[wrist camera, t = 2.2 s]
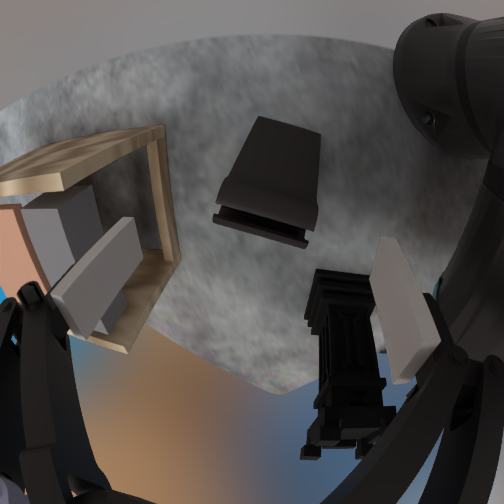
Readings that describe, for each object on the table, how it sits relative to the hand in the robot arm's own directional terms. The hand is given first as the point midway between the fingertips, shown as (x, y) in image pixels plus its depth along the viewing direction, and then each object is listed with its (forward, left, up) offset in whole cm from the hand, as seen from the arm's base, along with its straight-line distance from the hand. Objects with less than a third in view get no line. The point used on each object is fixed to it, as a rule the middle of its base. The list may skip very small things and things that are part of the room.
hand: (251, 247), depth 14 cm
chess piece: (-9, +16, -15) cm, 24 cm away
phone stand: (0, 0, -15) cm, 15 cm away
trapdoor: (+22, +4, -3) cm, 22 cm away
